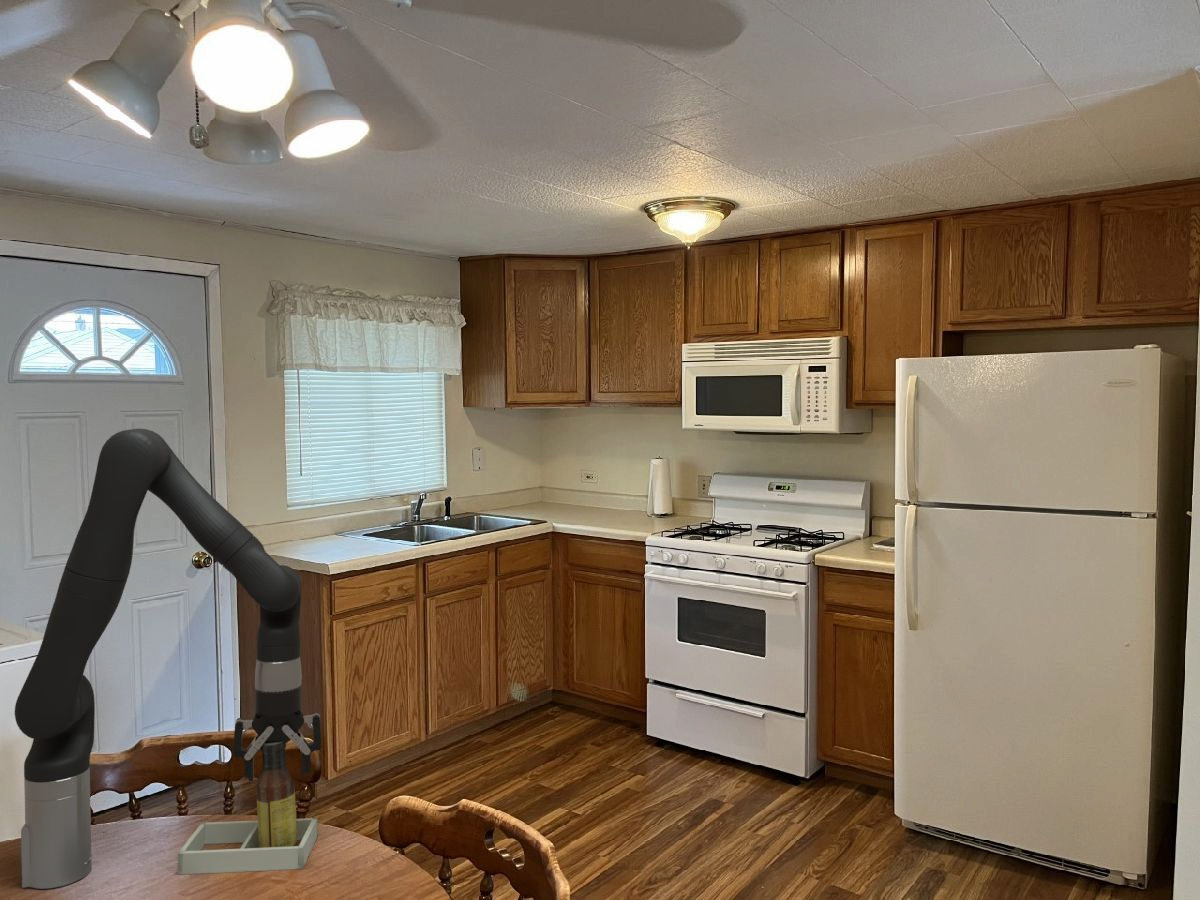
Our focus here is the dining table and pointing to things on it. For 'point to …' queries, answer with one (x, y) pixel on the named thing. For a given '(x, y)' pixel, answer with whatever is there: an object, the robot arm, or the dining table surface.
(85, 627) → the robot arm
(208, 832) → the corral
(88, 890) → the dining table surface
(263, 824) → the sauce bottle
